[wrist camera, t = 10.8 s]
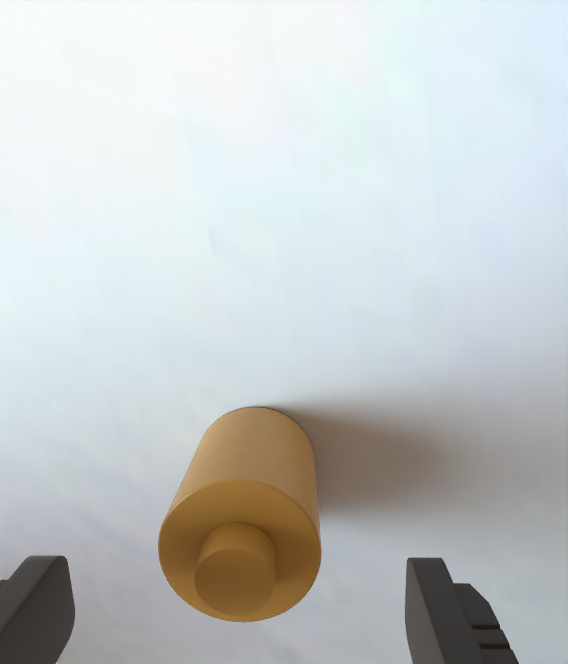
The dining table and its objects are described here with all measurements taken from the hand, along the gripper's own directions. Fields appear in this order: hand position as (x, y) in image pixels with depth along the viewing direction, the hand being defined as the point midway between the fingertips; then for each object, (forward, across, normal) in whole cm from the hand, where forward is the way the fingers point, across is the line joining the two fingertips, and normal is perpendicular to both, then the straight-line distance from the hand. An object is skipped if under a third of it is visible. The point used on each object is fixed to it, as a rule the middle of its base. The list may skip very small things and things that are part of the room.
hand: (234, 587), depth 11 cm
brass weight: (+6, 0, 0) cm, 7 cm away
